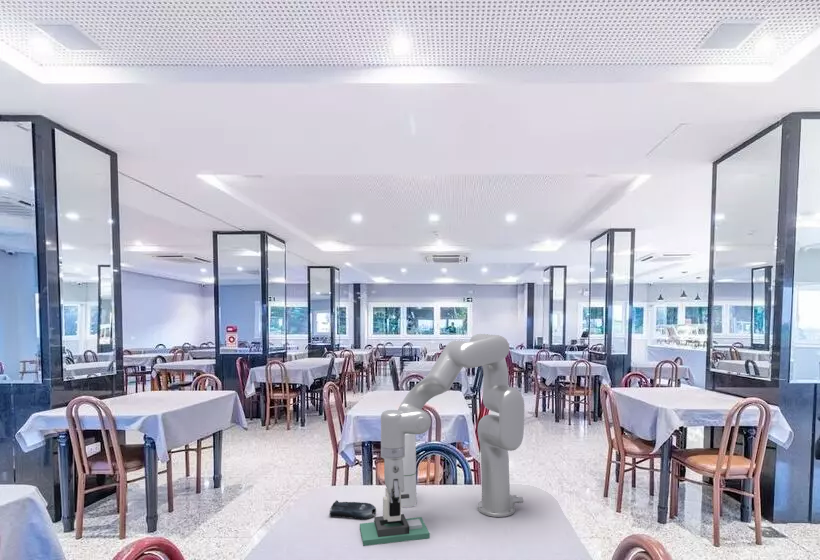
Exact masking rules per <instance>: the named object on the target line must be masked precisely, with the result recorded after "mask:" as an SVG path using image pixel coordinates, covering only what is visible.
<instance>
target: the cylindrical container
mask: <svg viewBox="0 0 820 560" xmlns="http://www.w3.org/2000/svg"><path fill="white" fill-rule="evenodd" d="M416 437H417V434H405V457H404V458H402V460H403V470H404V492H401V491H400V492H401V495H402V494H409V498H405V499H401V509H402V508H403V509H405V508H406V509H410V508H413V507H415V506H416V505H417V445H416V444H417V442H416V441H417V439H416ZM399 490H400V489H399Z"/></svg>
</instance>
